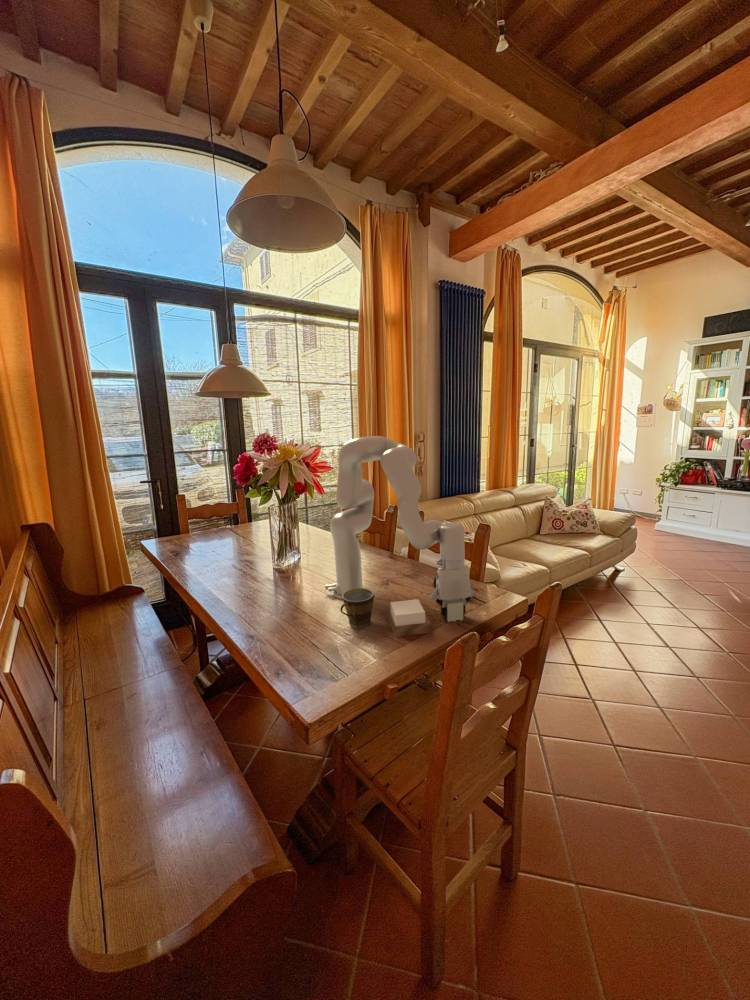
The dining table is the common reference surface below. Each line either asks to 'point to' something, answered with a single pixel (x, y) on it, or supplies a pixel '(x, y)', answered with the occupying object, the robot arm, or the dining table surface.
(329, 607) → the dining table surface
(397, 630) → the walnut slab
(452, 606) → the green block
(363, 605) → the ceramic cup
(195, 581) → the dining table surface
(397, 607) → the white slab
